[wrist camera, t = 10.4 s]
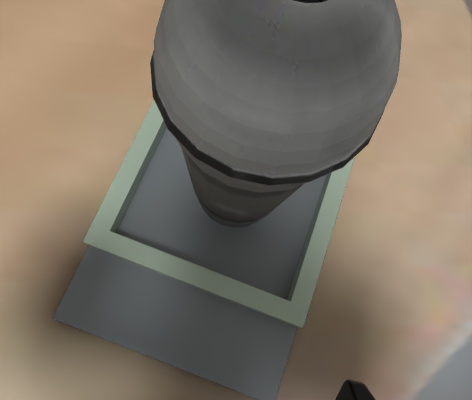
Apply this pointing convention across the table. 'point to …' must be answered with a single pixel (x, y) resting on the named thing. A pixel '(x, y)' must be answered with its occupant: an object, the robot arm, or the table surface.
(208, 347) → the socket board
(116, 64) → the table surface
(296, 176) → the beverage cup
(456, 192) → the table surface
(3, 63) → the table surface
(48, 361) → the table surface
